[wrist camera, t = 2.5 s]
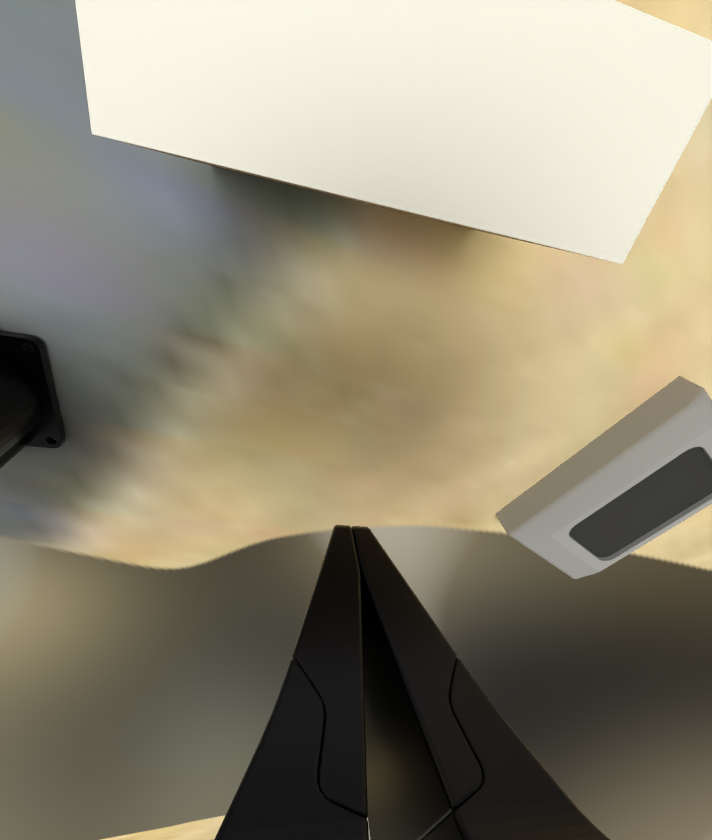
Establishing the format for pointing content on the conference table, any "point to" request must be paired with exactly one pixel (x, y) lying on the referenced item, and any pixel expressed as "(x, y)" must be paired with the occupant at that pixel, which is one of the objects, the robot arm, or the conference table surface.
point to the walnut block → (414, 103)
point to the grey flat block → (621, 485)
